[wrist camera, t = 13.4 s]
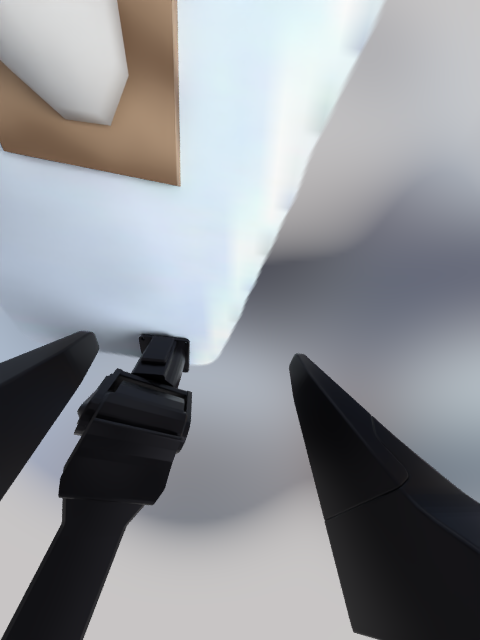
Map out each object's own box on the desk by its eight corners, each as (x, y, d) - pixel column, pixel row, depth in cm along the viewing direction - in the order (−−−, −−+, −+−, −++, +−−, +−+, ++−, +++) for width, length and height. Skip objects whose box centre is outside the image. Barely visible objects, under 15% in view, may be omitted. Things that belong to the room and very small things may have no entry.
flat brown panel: (182, 186, 16) (176, 185, 14) (30, 156, 14) (3, 150, 13) (179, -99, 9) (167, -165, 8) (-105, -211, 8) (-197, -322, 6)
